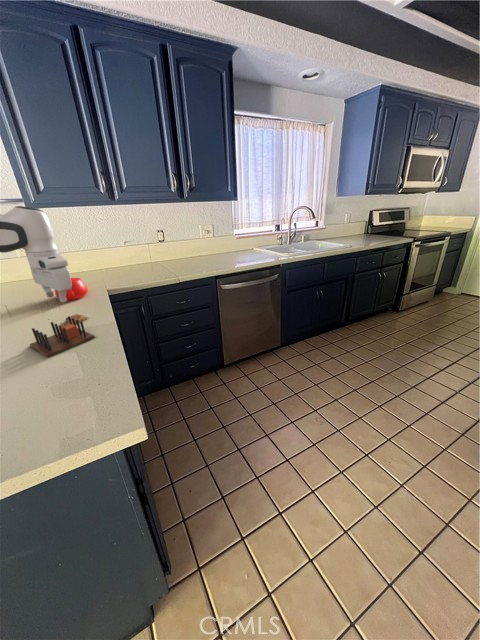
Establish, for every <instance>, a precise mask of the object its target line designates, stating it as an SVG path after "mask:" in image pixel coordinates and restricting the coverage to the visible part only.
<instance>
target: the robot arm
mask: <svg viewBox="0 0 480 640" xmlns="http://www.w3.org/2000/svg"><path fill="white" fill-rule="evenodd" d="M55 242H56V241H55V233H54V230H53V227H52V225H51V222H50V219H49V217H48V215H47V214H46V213H45V212H44V211H43V210H42V209H40V208H36V207H31V206H22V205H16V206H14V207H12V209H11V210H9V211H7V212H6V213H3V214H0V253H2V254H3V253H11V252H15V251H17V250H22V249H23V250H24V253H25V256H26V259H27V261H28V265H29V267H30V268H29V269H30V272H31V275H32V279H33V281H34V283H35V284H37V285H40V286H41V288H42V289H43V291H44V292H45V296H46V297H48V298H53V297H54V296H55V293H54V291H55V290H57V291H58V293H59V297H58V298H57V299H58V301H59V302H61V303H65V302H67V301H68V300H67V298H66V290H70V289H71V288H72V283H71V278H72V277H71V274H70V271H69V269H68V266H69V262H68V260H67V259H66V258H65V257H64V256H63V255H61V253H60V252H59V248H58V246H57V244H56V243H55ZM52 290H54V291H52Z"/></svg>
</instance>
